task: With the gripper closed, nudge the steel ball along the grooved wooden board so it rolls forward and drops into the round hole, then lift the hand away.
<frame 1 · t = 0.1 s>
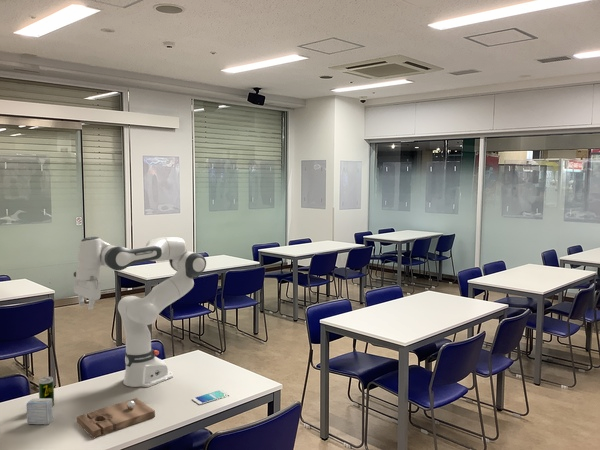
hand: (85, 307, 213), 39 cm above the table, tool pointing down, fingers open, 8 cm apart
smartphone: (211, 398, 214), on the table
ball: (131, 408, 198), point 2 cm above the table, touching grooved wooden board
grooved wooden board: (116, 419, 194), on the table
beer can: (47, 407, 204), on the table
medicine box: (40, 422, 192), on the table
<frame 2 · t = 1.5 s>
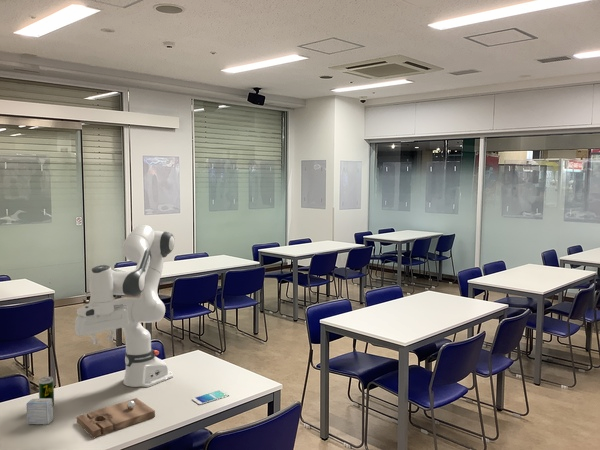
hand: (103, 342, 196), 29 cm above the table, tool pointing down, fingers open, 5 cm apart
nothing on the table moved.
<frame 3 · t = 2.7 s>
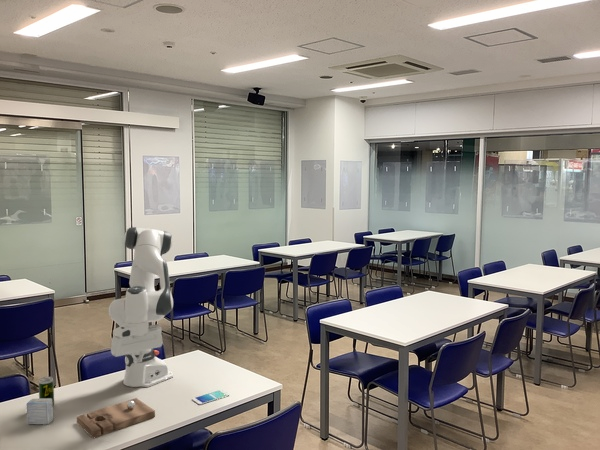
hand: (137, 362, 199), 20 cm above the table, tool pointing down, fingers closed
nothing on the table moved.
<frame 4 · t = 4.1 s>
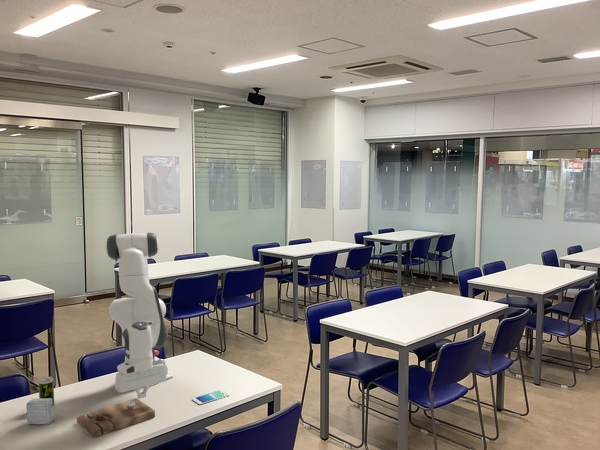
hand: (141, 397, 200), 6 cm above the table, tool pointing down, fingers closed
nothing on the table moved.
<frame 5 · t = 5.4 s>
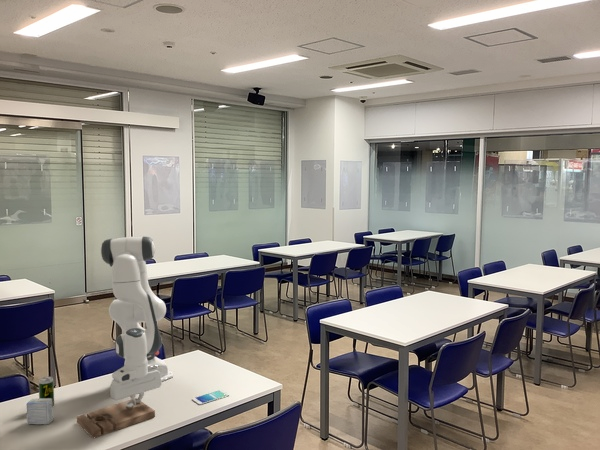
hand: (137, 404, 199), 4 cm above the table, tool pointing down, fingers closed
ball: (131, 408, 198), point 3 cm above the table, tilted 22°, touching grooved wooden board
everything else where it was.
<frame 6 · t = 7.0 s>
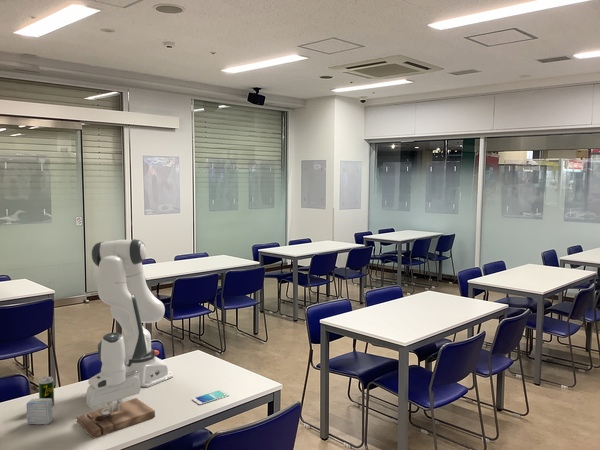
hand: (114, 411, 193), 4 cm above the table, tool pointing down, fingers closed
ball: (106, 416, 191), point 3 cm above the table, touching grooved wooden board
everything else where it was.
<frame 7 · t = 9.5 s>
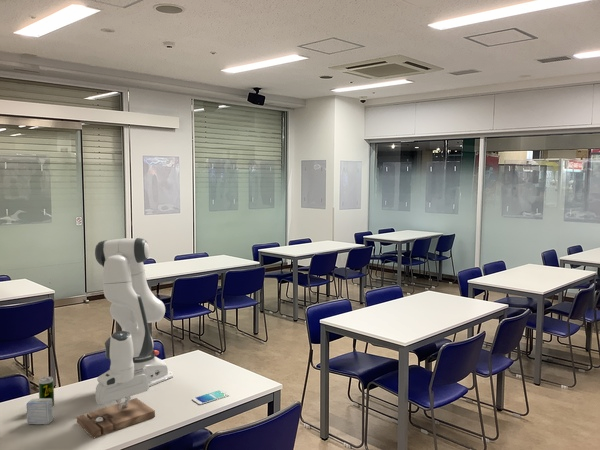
hand: (123, 408, 196), 4 cm above the table, tool pointing down, fingers closed
ball: (103, 420, 190), point 1 cm above the table, tilted 82°
everything else where it was.
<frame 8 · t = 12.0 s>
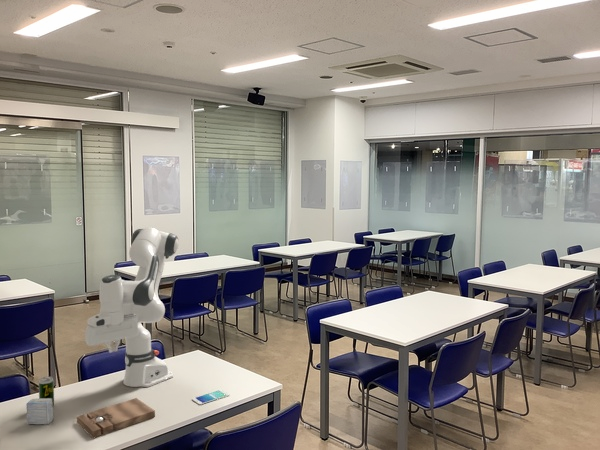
hand: (113, 351, 197), 25 cm above the table, tool pointing down, fingers closed
nothing on the table moved.
at the end: ball 1.0 cm from the target spot in the grooved wooden board, point 1.3 cm above the grooved wooden board's base; ball touching table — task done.
